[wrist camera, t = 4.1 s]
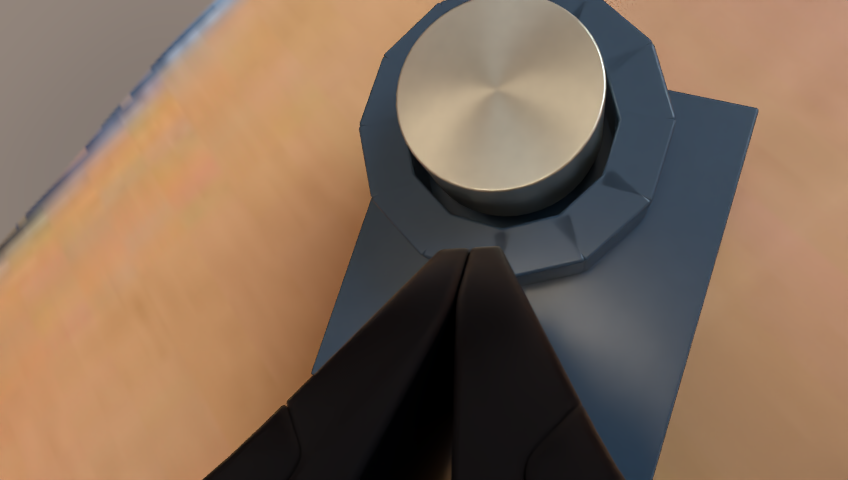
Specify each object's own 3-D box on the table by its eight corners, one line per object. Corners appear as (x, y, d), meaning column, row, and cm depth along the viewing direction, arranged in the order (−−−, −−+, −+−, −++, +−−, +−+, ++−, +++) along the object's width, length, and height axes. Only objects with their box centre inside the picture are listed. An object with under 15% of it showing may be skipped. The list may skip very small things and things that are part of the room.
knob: (571, 238, 14) (569, 217, 12) (398, 190, 16) (367, 162, 13) (625, 63, 15) (633, 12, 13) (453, 29, 16) (432, -23, 14)
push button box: (631, 471, 19) (655, 529, 13) (360, 368, 21) (270, 374, 15) (731, 127, 20) (798, 24, 14) (461, 69, 22) (415, -40, 16)
